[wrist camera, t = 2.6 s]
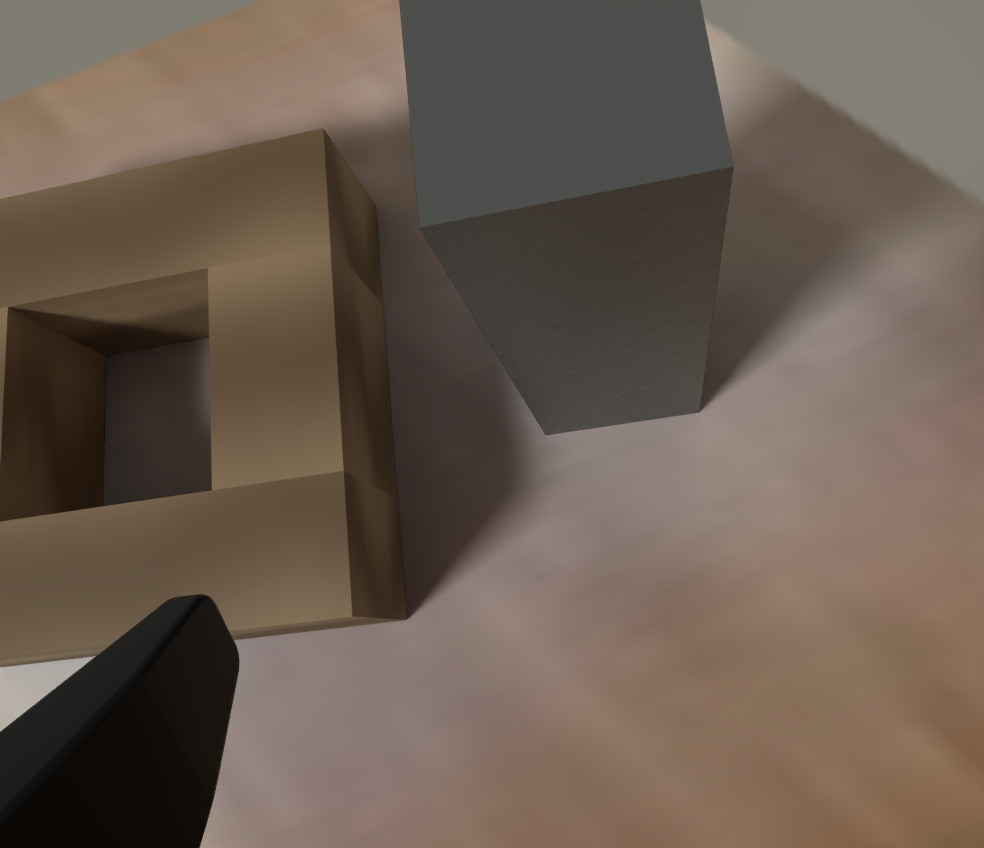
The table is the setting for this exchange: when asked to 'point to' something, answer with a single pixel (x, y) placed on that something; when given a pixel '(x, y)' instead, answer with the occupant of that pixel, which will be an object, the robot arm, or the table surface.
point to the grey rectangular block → (575, 193)
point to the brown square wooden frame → (233, 400)
